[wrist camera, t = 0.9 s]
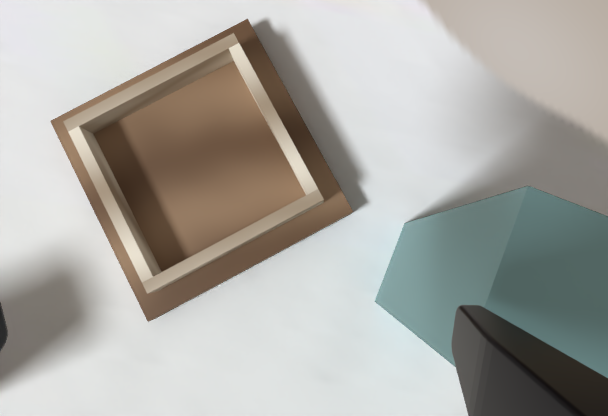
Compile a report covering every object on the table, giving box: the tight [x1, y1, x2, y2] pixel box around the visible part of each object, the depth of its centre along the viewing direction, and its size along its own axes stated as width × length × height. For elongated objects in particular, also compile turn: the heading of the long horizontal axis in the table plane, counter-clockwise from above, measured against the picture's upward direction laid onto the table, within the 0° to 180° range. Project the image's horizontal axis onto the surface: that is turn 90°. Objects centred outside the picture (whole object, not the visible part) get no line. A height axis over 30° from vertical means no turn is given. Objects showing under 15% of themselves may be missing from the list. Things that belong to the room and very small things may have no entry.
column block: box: [375, 186, 608, 378], centre depth 17 cm, size 4×4×14 cm
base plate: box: [51, 19, 353, 321], centre depth 24 cm, size 12×12×2 cm
